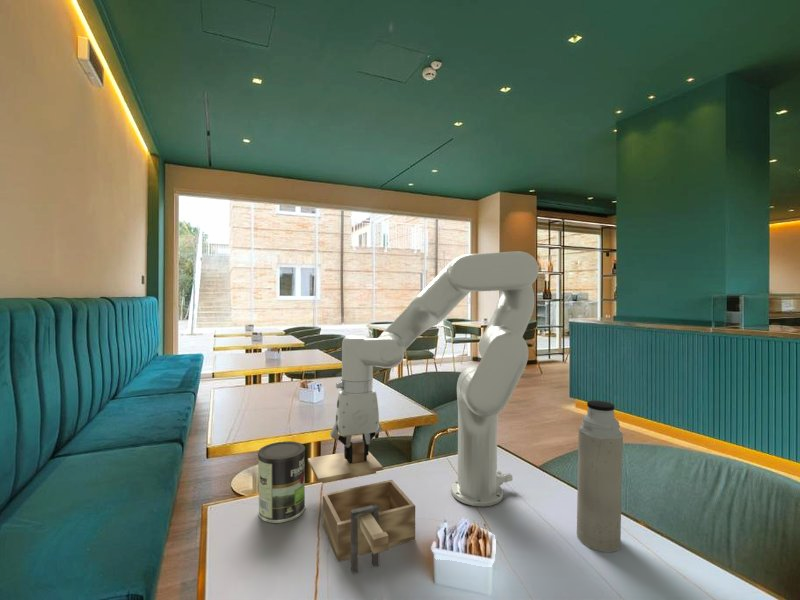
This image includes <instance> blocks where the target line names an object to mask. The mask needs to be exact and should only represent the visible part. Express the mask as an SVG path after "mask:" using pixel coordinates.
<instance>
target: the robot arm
mask: <svg viewBox="0 0 800 600" xmlns="http://www.w3.org/2000/svg"><path fill="white" fill-rule="evenodd" d="M539 271H540V267H539V264H538V261H537V260H536V258H535V257H534V256H532V255H531V254H530V253H528V252H525V251H521V250H518V251H516V250H515V251H504V252H502V251H501V252H487V253H465V254H462V255H460V256H457V257H455V258H452V260H451V261H449V262H448V264H447V265H446V266H444V268H442V270H440V272H439V273H437V275H436V276H435V277H434V278H433V279H432V280H431V281H430V282H429V283H428V284H427V285H426V287H424V288H423V289H422V290H421V292H420V293H418V295H416V296H415V298H414V299H413V300H412V301H411V302H410V303H409V304H408V306H407V307H406V308H405V309H404V311H403V312H401V314H399V316H398V317H396V318H395V319H394V321H393V322H392V323H391V324H390V325H388V326H387V328H385V329H384V331H383V332H382V333H381V334H380V335H379V336H378V337H373V338H372V337H371V336H369V335H365V334H364V335H363V334H349V335H345V337H343V338H342V343H341V378H340V381H339V382H336V383H335V388H336V390H338V389H340V391H339V392H338V396H337V400H336V409H335V423H334V425H333V427H332V428H331V431H330V433H329V436H330V437H331V438H332V439H334V440H337V441H340V443H342V444H343V445H344V449H343V450H344V452H343V453H344V457H345V459H347V461H348V462H349V463H352V450H353V449H352V446H351V439H352V436H358V435H361V439H362V440H363V441H364V461H367V455H368V451H369V446H370V444H371V441H372V440H373V438H375V437H376V435H377V434H379V433H380V432H382V431H383V426H382V425H381V423H380V414H379V413H380V411H379V402H378V401H379V400H378V397H377V392H376V391H377V390H375V389H374V388H373V383H374V382H373V377H374V374H373V373H374V371H373V370H374V367H377V368H382V369H394V368H396V367H398V366H399V365H400V364H402V362H403V360H404V358H405V351H406V350H407V349H408V348H409V347H410V346H411V345H412V344H413V343H414V342H415V340H416V339H418V337H420V336H421V335H422V334H424V333H425V332H426V331H427V330H429V329H430V328H433V327H434V326H437V325H438V324H440V323H441V322H442V321H443V320H445V318H447V316H448V315H450V313H451V312H452V311H453V310H454V309H455V308H456V306H457V305H459V303H460V302H462V301H463V299H464V298H466V297H467V295H469V293H471V292H493V291H496V292H497V291H498V295H499V296H498V302H497V303H496V304H497V305H496V307H495V310H494V312H493V314H492V316H491V318H490V319H489V322H488V324H487V326H486V328H485V329H484V332H483V333H482V335H481V336H480V340H479V342H478V346H477V347H478V353H479V355H480V357H481V359H480V360H479V363H478V364H477V365H475V364H474V365H473V364H472V365H469V366H467V367H466V368H464V369H463V370H462V371H461V372H460V373H459V376H458V378H457V383H456V398H457V399H456V400H457V479H456V480H455V481H454V482H452V484H451V487H450V491H451V495H452V496H453V497H454V498H455V499H456V500H457V501H459V502H461V503H463V504H465V505H469V506H472V507H491V506H495V505H496V504H498V503H500V502H502V500H503V498H504V490H503V488H502V486H501V485H503V484H504V483H508V482H513V475H512V474H511V472H507V473H503V472H501V470H498V414H499V413H501V412H502V411H503V410H504V409H505V407H506V406H507V404H508V402H509V401H510V399H511V397H512V395H513V394H514V392H515V389H516V387H517V386H518V383H519V381H520V379H521V377H522V375H523V373H524V371H525V369H526V367H527V363H528V360H529V347H528V344H527V342H526V340H525V339H524V337H523V336H524V334H525V332H526V330H527V329H528V325H529V323H530V320H531V318H532V316H533V313H534V309H535V293H534V288H533V284H534V283H535V281H536V280H537V279H538V276H539ZM502 473H503V474H502Z"/></svg>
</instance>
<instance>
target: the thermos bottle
mask: <svg viewBox="0 0 800 600" xmlns="http://www.w3.org/2000/svg"><path fill="white" fill-rule="evenodd" d="M586 403H587V405H586V406H587V407H588V408H587V411H586V412H587V413H586V414H585V415H584V416H582V421H581V424H582V425H579V427H578V443H577V444H578V447H577V448H578V449H577V451H578V453H577V456H578V457H577V498H576V499H577V501H576V502H577V503H576V505H577V506H576V537H577V539H578V540H579V541H580V543H582V544H583V545H584V546H586V547H588V548H590V549H592V550H595V551H598V552H604V553H611V552H616V551H618V550H619V549H620V548H621V542H622V541H621V539H622V538H621V537H622V536H621V535H622V534H621V533H622V525H621V524H622V485H623V483H622V482H623V446H624V445H623V442H624V440H623V439H624V434H623V432H622V431H621V430H620V427H621V426H620V421H619V420H618V419H616V418H615V404H614V403H611V402H609V401H605V400H588V401H586Z"/></svg>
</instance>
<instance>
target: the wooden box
mask: <svg viewBox="0 0 800 600" xmlns="http://www.w3.org/2000/svg"><path fill="white" fill-rule="evenodd" d="M367 513H371V514H372V516H373V517H374V519H375V520H376V522H377V523H378V525H379V526H380V528H381V529H382V531H383V532H386V533H387V534H388V548H391V547H395V546H399V545H402V544H405V543H409V542H413V541H416V505H415V503H414V502H413V501H412V500H411V499H410V498H409V496H408V495H406V493H404V491H403V490H402V489H401V488H400V487H399V486H398V485H397V484H396V482H394V480H393V479H388V480H383V481H379V482H373V483H369V484H365V485H364V484H363V485H361V486H357V487H350V488H346V489H342V490H338V491H337V490H336V491H332V492H328V493H323V494H322V528H323V530H324V533H325V534H326V536H327V540H328V542H329V544H330V546H331V549H332V550H333V551H332V552H333V553H334V556H335V558H336V560H337V562H338V563H339V562H343V561H345V560H349V559H350V571H351V573H352V574H355V573H358V572H359V570H358V569H359V565H358V564H359V559H358V558H359V557H360V556H363V555H367V554H370V553H371V565H372V567H373V568H376V567H378V566H379V565H380V564H379V561H380V560H379V558H380V557H379V554H380V552H379V553H376V554H373V552H372V551H371V546H370V544H369V543H368V541H367V539H366V538H365V536H364V534H363V532H362V531H361V529H360V527H359V526H358V515H362V514H367ZM398 544H399V545H398Z"/></svg>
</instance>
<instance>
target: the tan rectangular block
mask: <svg viewBox="0 0 800 600" xmlns="http://www.w3.org/2000/svg"><path fill="white" fill-rule="evenodd" d="M358 526H359V527H360V529H361V531H362V532H363V534H364V536H365V538H366V539H367V541H368V543H369V544H370V546H371V551H372V552H373V554H376V553H379V554H380V553H382V552H385V551H389V547H388V534H387V533H386V532H383V531H382V529H381V528H380V526H379V525H378V523H377V522H376V520H375V519H374V517H373V516H372V514H371V513H367V514H362V515H358ZM372 552H371V553H372Z"/></svg>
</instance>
